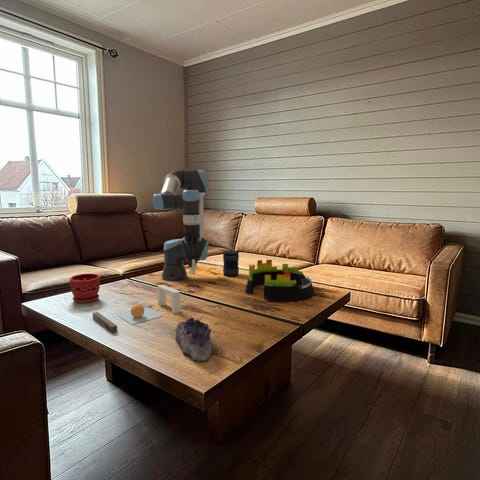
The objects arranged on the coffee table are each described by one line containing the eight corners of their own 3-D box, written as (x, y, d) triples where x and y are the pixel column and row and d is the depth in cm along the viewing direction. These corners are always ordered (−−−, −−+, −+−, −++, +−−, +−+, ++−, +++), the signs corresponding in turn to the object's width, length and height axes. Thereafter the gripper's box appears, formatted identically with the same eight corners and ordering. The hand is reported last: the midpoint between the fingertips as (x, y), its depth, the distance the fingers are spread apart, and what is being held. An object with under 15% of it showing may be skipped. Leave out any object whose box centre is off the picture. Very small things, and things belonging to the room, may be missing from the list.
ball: (129, 317, 143) (141, 313, 147) (135, 321, 139) (147, 316, 143) (127, 305, 142) (139, 301, 146) (133, 308, 138) (145, 304, 142)
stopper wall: (97, 317, 143) (97, 311, 143) (117, 331, 128) (117, 325, 128) (92, 318, 142) (92, 312, 141) (112, 333, 127) (111, 326, 127)
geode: (225, 358, 109) (221, 330, 106) (190, 370, 104) (185, 341, 102) (204, 332, 127) (201, 307, 125) (174, 341, 122) (170, 316, 120)
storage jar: (241, 276, 213) (241, 252, 210) (226, 277, 209) (226, 253, 207) (235, 272, 222) (235, 250, 220) (221, 274, 218) (220, 251, 216)
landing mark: (147, 307, 155) (147, 307, 155) (163, 316, 144) (163, 315, 144) (117, 315, 145) (117, 314, 145) (131, 324, 135) (131, 324, 135)
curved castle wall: (315, 306, 159) (316, 274, 157) (238, 300, 166) (238, 270, 164) (315, 285, 195) (315, 259, 193) (251, 281, 202) (251, 256, 200)
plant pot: (65, 302, 162) (63, 277, 160) (88, 295, 173) (87, 272, 172) (83, 306, 156) (82, 281, 154) (107, 298, 167) (105, 275, 166)
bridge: (163, 303, 161) (163, 284, 159) (180, 311, 150) (180, 291, 149) (158, 305, 159) (157, 285, 157) (174, 313, 148) (174, 292, 147)
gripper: (184, 225, 150) (185, 277, 154) (207, 223, 159) (208, 272, 163) (175, 224, 156) (176, 274, 160) (198, 222, 165) (199, 269, 168)
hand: (192, 273), depth 161 cm, fingers closed
